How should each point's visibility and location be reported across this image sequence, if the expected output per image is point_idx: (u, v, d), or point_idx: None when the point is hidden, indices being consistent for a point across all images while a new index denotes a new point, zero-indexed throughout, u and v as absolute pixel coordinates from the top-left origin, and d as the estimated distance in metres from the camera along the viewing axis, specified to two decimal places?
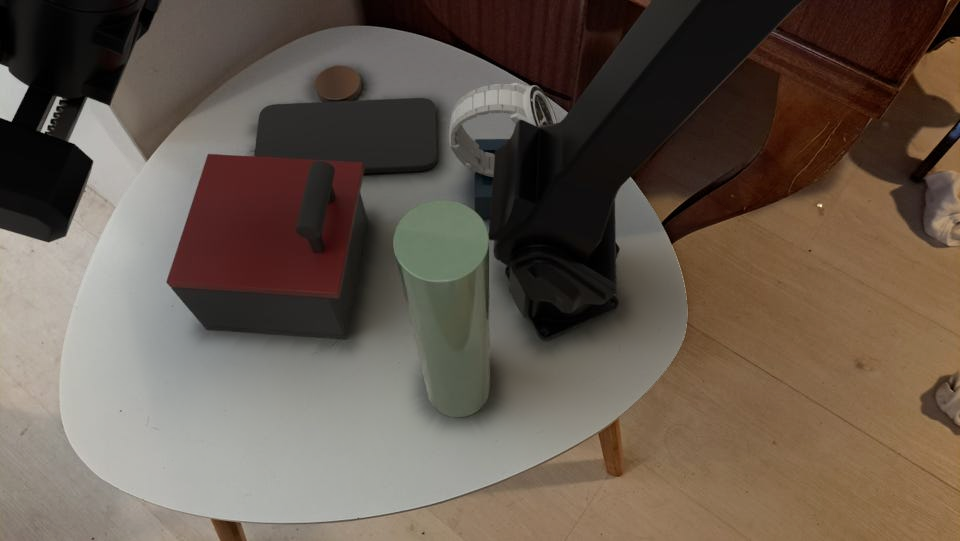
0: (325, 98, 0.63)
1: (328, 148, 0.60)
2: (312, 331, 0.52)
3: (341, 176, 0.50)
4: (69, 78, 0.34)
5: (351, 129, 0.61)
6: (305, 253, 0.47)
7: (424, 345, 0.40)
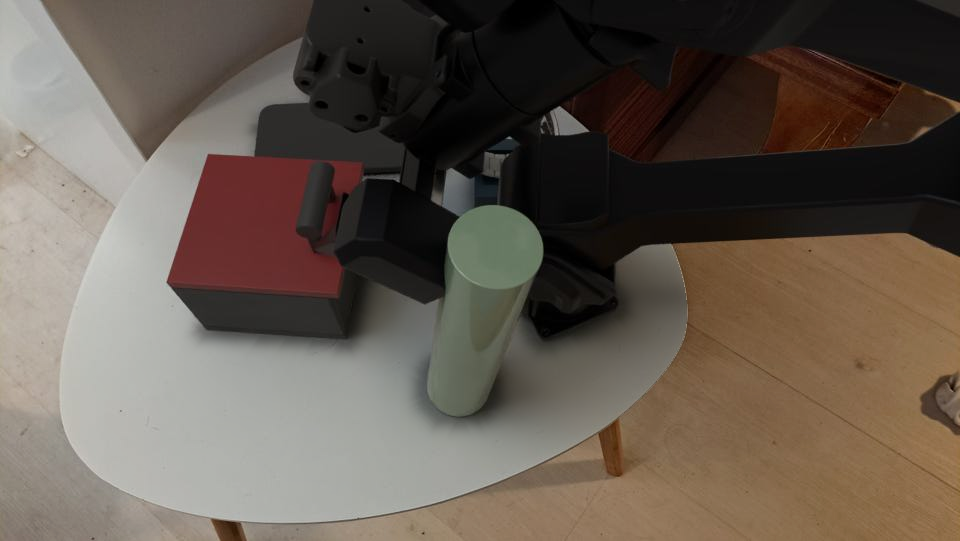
0: None
1: (328, 148, 0.60)
2: (312, 331, 0.52)
3: (341, 176, 0.50)
4: (460, 157, 0.37)
5: None
6: (305, 253, 0.47)
7: (451, 347, 0.39)
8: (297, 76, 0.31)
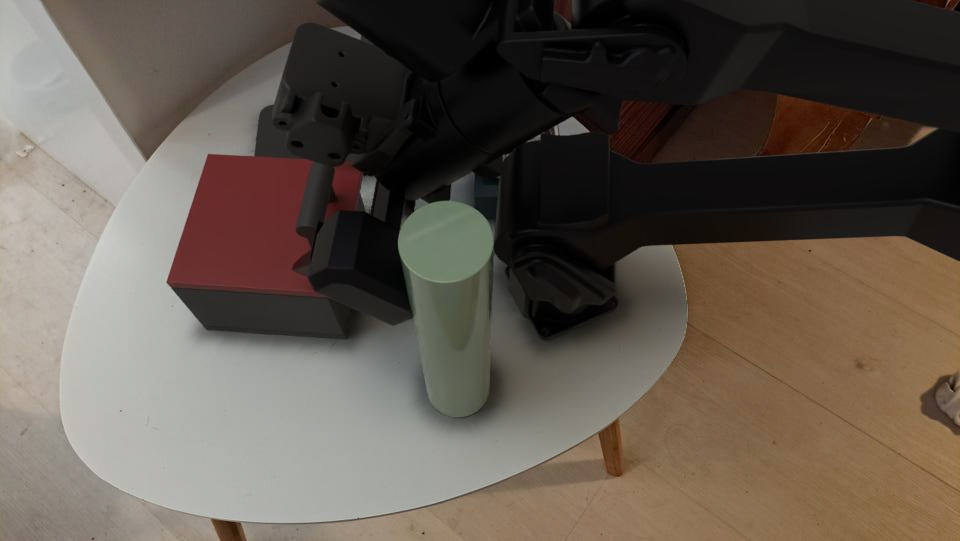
0: None
1: None
2: (312, 331, 0.52)
3: (341, 176, 0.50)
4: (428, 189, 0.39)
5: None
6: None
7: (426, 345, 0.40)
8: (275, 117, 0.34)
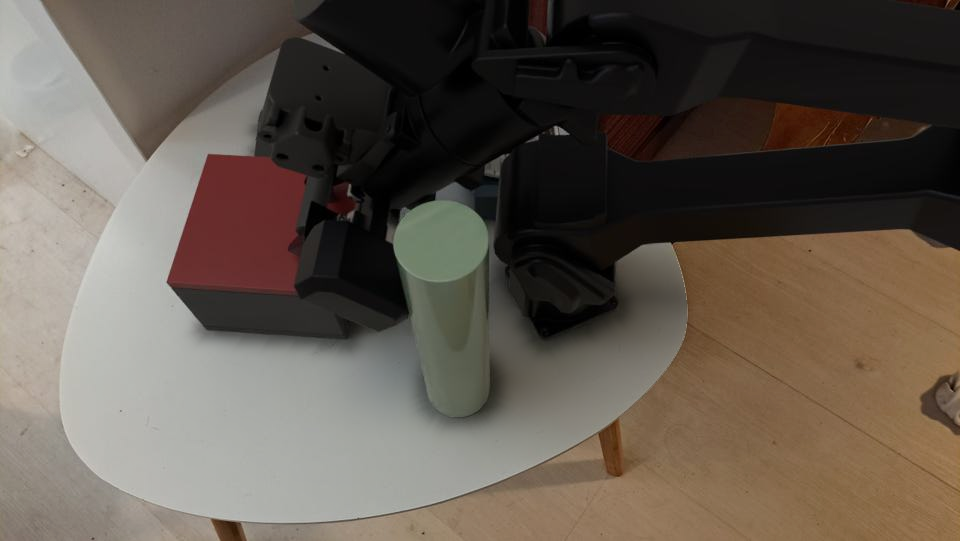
0: None
1: None
2: (312, 331, 0.52)
3: None
4: (412, 199, 0.40)
5: None
6: None
7: (424, 345, 0.40)
8: (260, 130, 0.35)
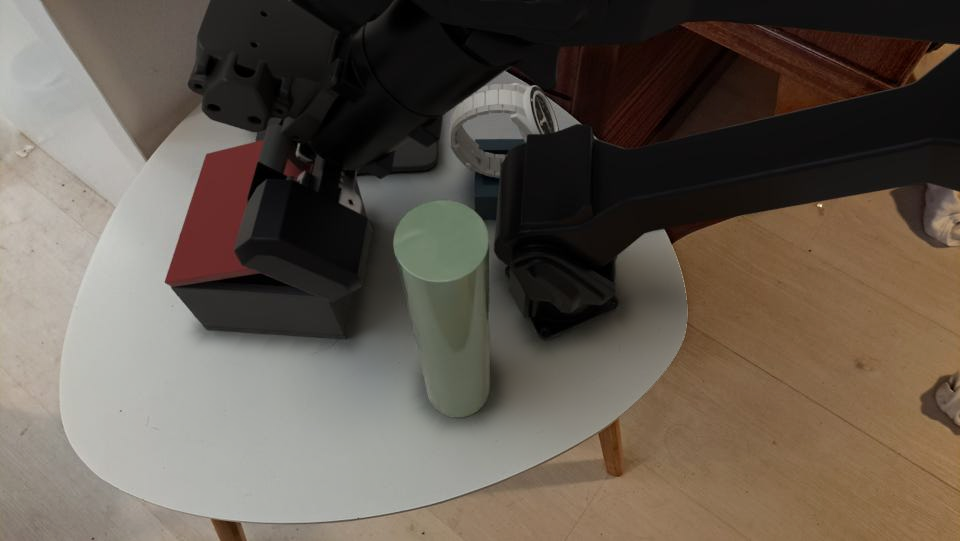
0: None
1: None
2: (312, 331, 0.52)
3: None
4: (365, 157, 0.37)
5: None
6: None
7: (424, 345, 0.40)
8: (189, 80, 0.32)
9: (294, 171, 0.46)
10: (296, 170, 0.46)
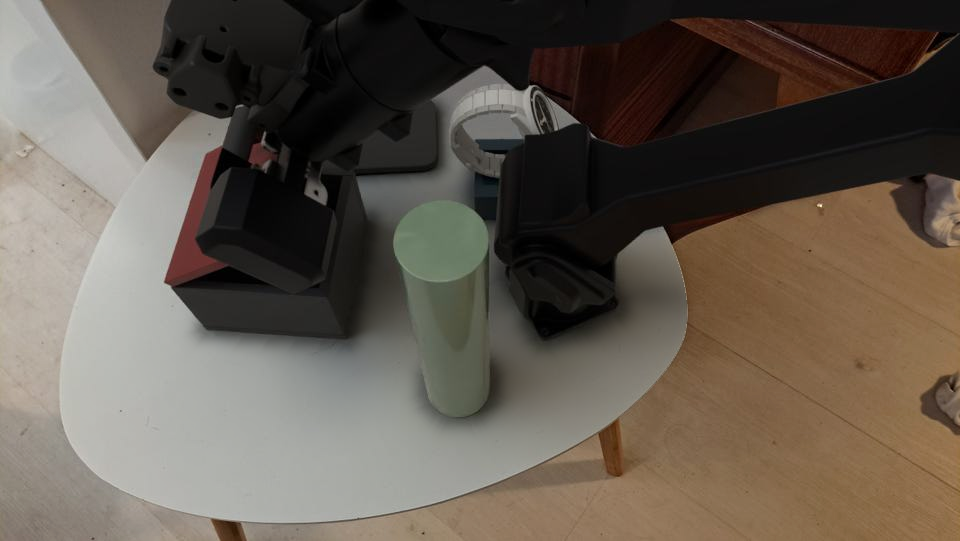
0: None
1: None
2: (312, 331, 0.52)
3: None
4: (333, 149, 0.37)
5: None
6: None
7: (424, 345, 0.40)
8: (155, 62, 0.31)
9: (272, 155, 0.45)
10: None
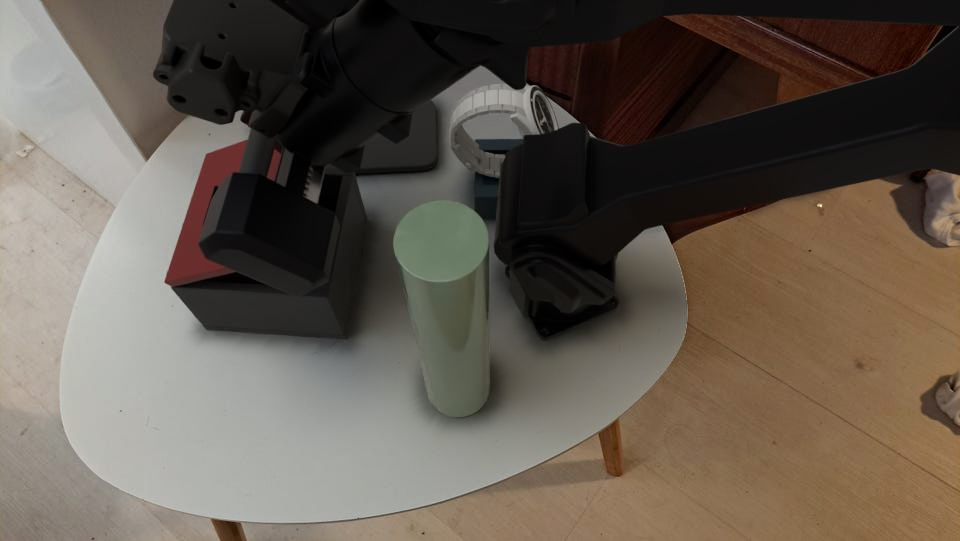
0: None
1: None
2: (312, 331, 0.52)
3: None
4: (334, 153, 0.37)
5: None
6: None
7: (424, 345, 0.40)
8: (155, 70, 0.32)
9: None
10: None
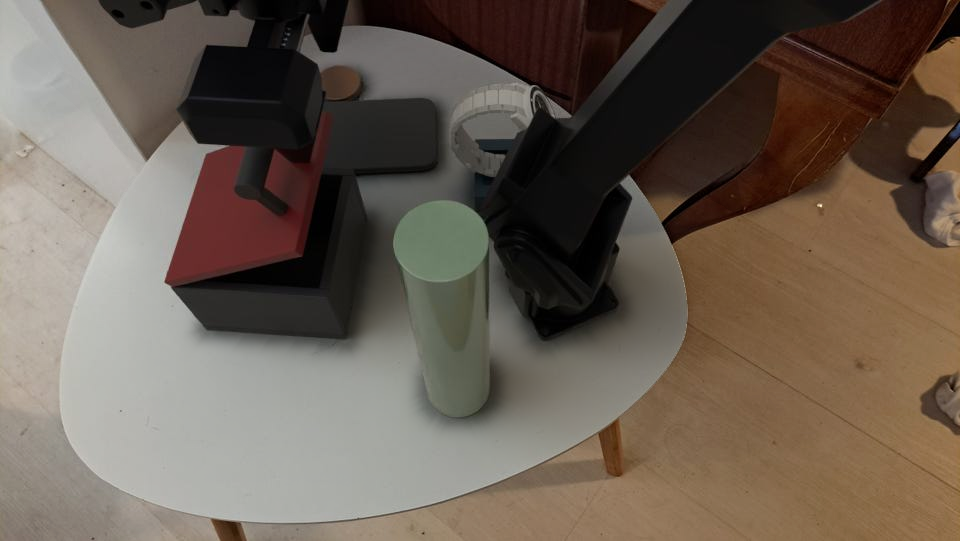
0: (325, 98, 0.63)
1: (328, 148, 0.60)
2: (312, 331, 0.52)
3: None
4: None
5: (351, 129, 0.61)
6: (271, 218, 0.44)
7: (424, 345, 0.40)
8: None
9: (285, 164, 0.46)
10: (287, 163, 0.46)
